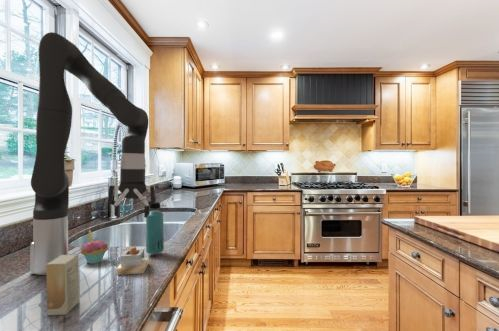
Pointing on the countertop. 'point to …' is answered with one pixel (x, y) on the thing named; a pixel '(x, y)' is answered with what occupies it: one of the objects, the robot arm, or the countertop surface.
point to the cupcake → (94, 250)
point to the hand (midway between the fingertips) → (132, 217)
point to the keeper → (133, 268)
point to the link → (132, 258)
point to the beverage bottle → (154, 230)
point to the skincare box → (62, 284)
